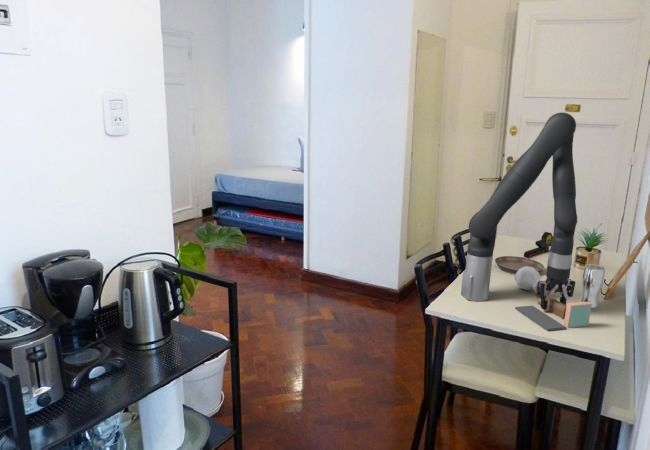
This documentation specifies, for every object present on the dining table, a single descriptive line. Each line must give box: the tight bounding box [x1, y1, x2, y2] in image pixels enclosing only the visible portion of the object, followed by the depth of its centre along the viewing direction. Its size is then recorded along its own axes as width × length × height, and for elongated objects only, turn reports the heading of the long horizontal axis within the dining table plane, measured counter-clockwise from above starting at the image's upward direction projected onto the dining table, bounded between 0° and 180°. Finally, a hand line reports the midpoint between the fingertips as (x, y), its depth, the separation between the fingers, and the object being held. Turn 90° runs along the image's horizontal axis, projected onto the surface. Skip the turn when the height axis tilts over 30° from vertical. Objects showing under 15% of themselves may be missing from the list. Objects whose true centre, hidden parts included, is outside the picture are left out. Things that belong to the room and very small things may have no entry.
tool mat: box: [514, 305, 567, 332], centre depth 172 cm, size 7×18×1 cm, turn 13°
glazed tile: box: [563, 301, 592, 329], centre depth 167 cm, size 8×2×8 cm, turn 103°
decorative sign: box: [523, 231, 553, 259], centre depth 247 cm, size 27×2×10 cm, turn 129°
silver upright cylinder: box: [580, 263, 606, 309], centre depth 183 cm, size 7×7×15 cm
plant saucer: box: [494, 255, 545, 275], centre depth 223 cm, size 21×21×3 cm
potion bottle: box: [514, 266, 550, 295], centre depth 196 cm, size 9×10×15 cm
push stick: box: [537, 294, 567, 320], centre depth 179 cm, size 2×14×4 cm, turn 12°
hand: (552, 308), depth 179 cm, fingers open, 7 cm apart
